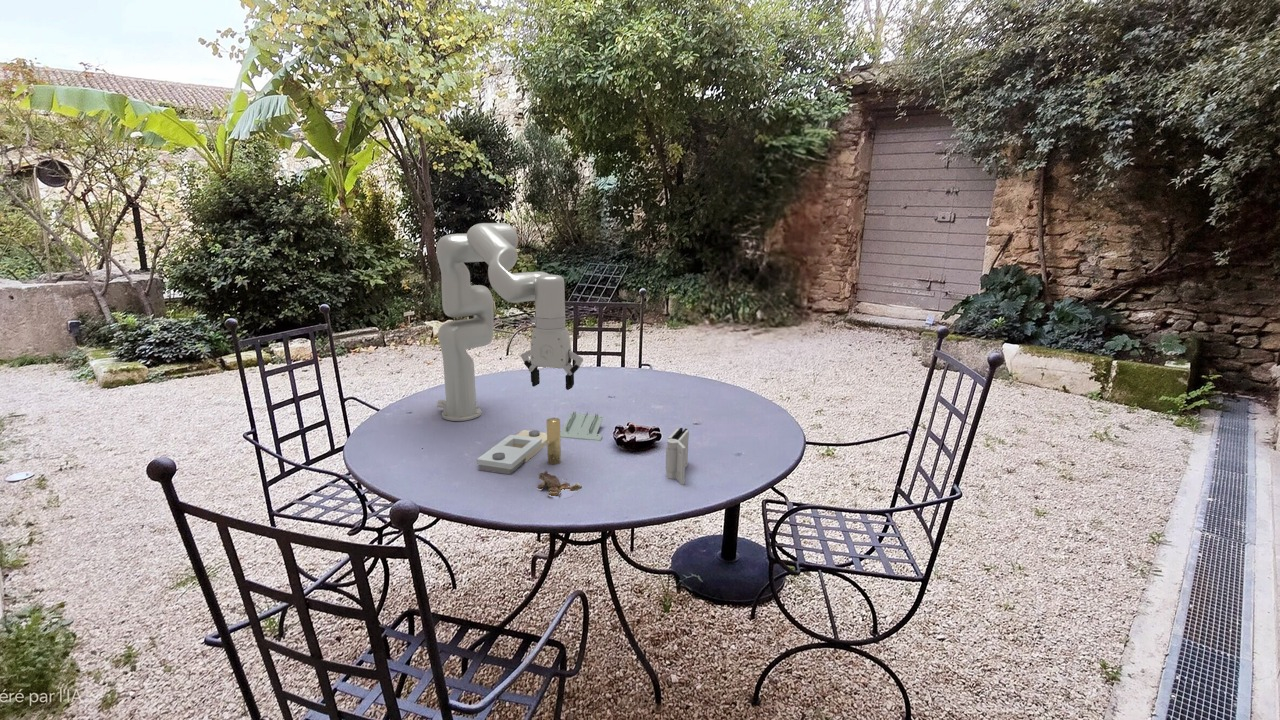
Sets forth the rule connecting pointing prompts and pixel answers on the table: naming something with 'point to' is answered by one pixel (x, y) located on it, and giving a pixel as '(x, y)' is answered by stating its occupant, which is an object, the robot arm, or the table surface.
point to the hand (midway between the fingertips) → (552, 386)
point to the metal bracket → (582, 427)
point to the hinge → (677, 454)
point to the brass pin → (553, 441)
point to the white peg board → (512, 452)
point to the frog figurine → (555, 484)
